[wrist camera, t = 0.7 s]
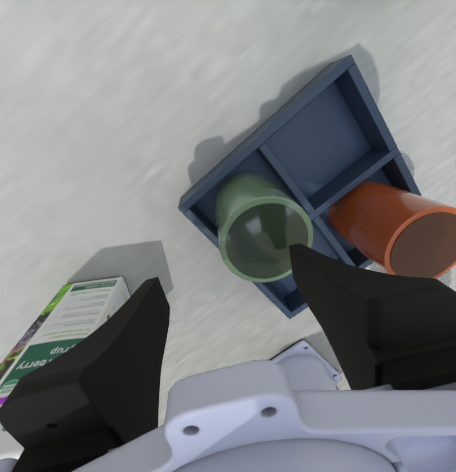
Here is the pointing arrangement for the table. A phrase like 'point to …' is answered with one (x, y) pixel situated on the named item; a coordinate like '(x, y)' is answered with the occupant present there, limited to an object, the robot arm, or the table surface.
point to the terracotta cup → (397, 229)
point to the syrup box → (58, 336)
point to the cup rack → (312, 164)
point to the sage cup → (258, 226)
